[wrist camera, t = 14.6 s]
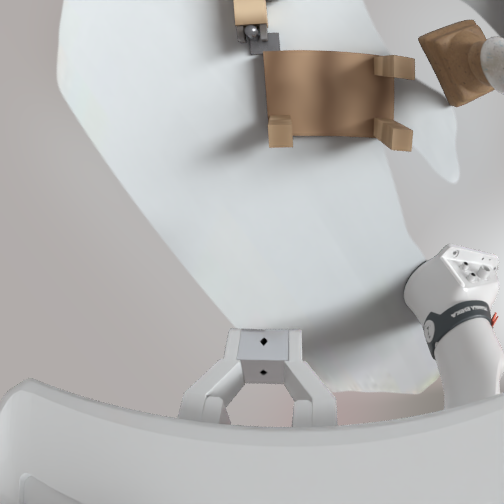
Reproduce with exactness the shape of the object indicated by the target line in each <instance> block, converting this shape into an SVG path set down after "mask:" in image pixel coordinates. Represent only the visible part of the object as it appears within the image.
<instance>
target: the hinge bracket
mask: <svg viewBox="0 0 504 504" xmlns="http://www.w3.org/2000/svg"><path fill="white" fill-rule="evenodd" d="M244 32H245V34H246V35H247V36H248V37H249V38H250V48H251V54H263V51H280V44H279V33H267V34H268V41H266V42H262V40H261V35H260V33H259V32H258V30H257V28H256V27H255V26H253V25H249V26H247V27H246V28H245V30H244Z"/></svg>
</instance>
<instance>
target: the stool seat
mask: <svg viewBox="0 0 504 504" xmlns="http://www.w3.org/2000/svg"><path fill="white" fill-rule="evenodd" d="M263 58H264V71H265V84H266V98H267V112H268V137H269V148H274V147H293V137H292V136H349V137H369V138H377V139H378V140H380V141H381V142H382V143H383V144H385V145H386V146H387V147H388V148H390V149H391V150H397V151H411V148H412V137H413V130H411V129H409V128H407V127H405V126H404V125H402V124H400V123H398V122H396V121H394V120H393V119H394V78H402V79H410V80H415V59H413V58H408V57H402V56H396V55H389V56H379V55H371V54H361V53H350V52H336V51H310V50H289V51H263Z"/></svg>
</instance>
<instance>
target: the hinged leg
mask: <svg viewBox="0 0 504 504" xmlns="http://www.w3.org/2000/svg"><path fill="white" fill-rule="evenodd" d="M233 1H234V14H235V25H236V26H237V37H238V41H239V42H240V43H247V40H246V34H245V32H244V30H245V28H246V27H247V26H249V25H253V26H255V27H256V28H260V35H261V40H262V42H266V41H268V34H267V28H268V21H267V8H266V0H233Z"/></svg>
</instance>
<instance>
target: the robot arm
mask: <svg viewBox="0 0 504 504" xmlns="http://www.w3.org/2000/svg"><path fill="white" fill-rule="evenodd" d="M454 251H455V252H454ZM498 261H499V260H498V257H497V256H496V255H495V254H491V253H487V252H483V251H479V250H475V249H471V248H467V247H463V246H458V245H454V244H448V245H446V246H445V247H444V248H443V249H442V250H441V251H440V252H439V253H438V254H437V255H436V256H435V257H434V258H432V259H430V260H428V261H427V262H425V263H424V264H422V265H421V266H420V267H419V268H418V269H417V270H416V271H415V272H414V273H413V274H412V275H411V277H410V278H409V280H408V282H407V284H406V286H405V290H404V300H405V303H406V305H407V306H408V307H409V308H410V309H411V310H412V312H413V313H414V314H415V316H416V317H417V319H418V320H419V322H420V324H421V325H422V327H423V330H424V334H425V338H426V341H427V344H428V347H429V350H430V352H431V355H432V357H433V359H435V360H436V362H437V366H438V369H439V373H440V376H441V380H442V384H443V389H444V396H445V402H444V410H441V411H437V412H432V413H428V414H423V415H418V416H412V417H407V418H401V419H394V420H388V421H380V422H372V423H363V424H353V425H341V426H338V424H337V409H336V408H337V407H336V398H335V397H334V396H333V394H332V393H331V392H330V390H329V389H328V388H327V387H326V386H325V384H324V383H323V382H322V381H321V379H320V378H319V377H318V376H317V374H316V373H315V372H314V371H313V369H312V368H311V367H310V366H309V364H308V363H307V362H306V361H302V331H301V329H265V330H262V329H238V328H230V330H229V332H228V337H227V343H226V347H225V352H224V358H223V359H220V360H218V361H217V362H216V363H215V364H214V365H213V366H212V367H211V368H210V369H209V370H208V371H207V372H206V373H205V374H204V375H203V376H202V377H200V378H199V379H198V380H197V381H196V382H195V383H194V384H193V385H192V386H191V387H190V388H189V389H188V390H186V391H185V393H184V395H183V399H182V403H181V406H180V410H179V414H178V418H172V417H167V416H161V415H155V414H151V413H146V412H141V411H136V410H132V409H127V408H123V407H119V406H115V405H111V404H107V403H104V402H100V401H97V400H93V399H90V398H87V397H83V396H80V395H77V394H74V393H71V392H68V391H65V390H62V389H59V388H57V387H54V386H51V385H48V384H46V383H43V382H41V381H38V380H36V379H33V378H28V379H26V380H24V381H22V382H20V383H19V384H17V385H16V386H14V387H13V388H11V389H10V390H9V391H7V393H6V394H5V395H4V397H3V398H2V399H1V401H0V504H504V392H503V393H500V385H499V384H500V383H499V382H500V381H499V380H500V378H501V377H502V375H503V373H504V352H503V349H502V347H501V345H500V343H499V341H498V339H497V337H496V335H495V332H494V331H493V325H494V323H495V322H496V320H497V318H498V316H497V317H496V313H495V314H494V315H493V317H492V319H491V315H490V311H491V309H492V306H493V304H494V302H495V300H496V298H497V295H498V292H499V280H498V277H497V271H498V266H499V263H498ZM495 317H496V319H495ZM245 383H267V384H284V385H285V387H286V389H287V390H288V392H289V393H290V395H291V397H292V398H293V400H294V401H295V403H294V409H293V420H292V427H258V426H241V425H231V422H230V419H229V416H228V414H227V411H226V407H227V405H228V404H229V403H230V402H231V401H232V399H233V398H234V397H235V396H236V395H237V393H238V392H239V391H240V390H241V388H242V387H243V386H244V385H245Z"/></svg>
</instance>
